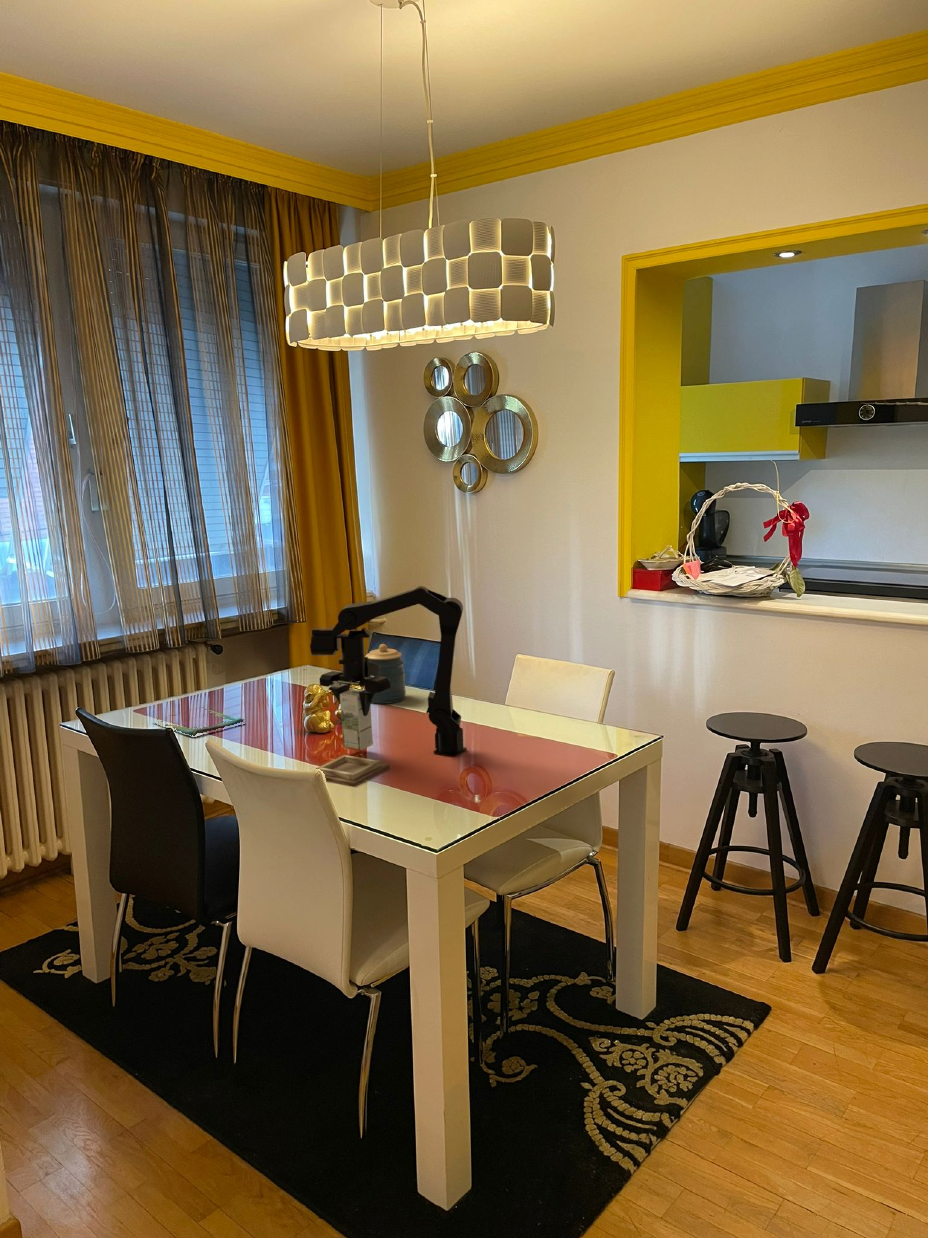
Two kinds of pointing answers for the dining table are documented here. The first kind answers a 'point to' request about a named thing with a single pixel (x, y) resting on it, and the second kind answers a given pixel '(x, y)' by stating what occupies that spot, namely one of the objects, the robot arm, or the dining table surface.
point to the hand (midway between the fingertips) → (356, 714)
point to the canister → (389, 674)
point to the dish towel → (205, 729)
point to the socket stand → (351, 770)
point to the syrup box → (355, 721)
